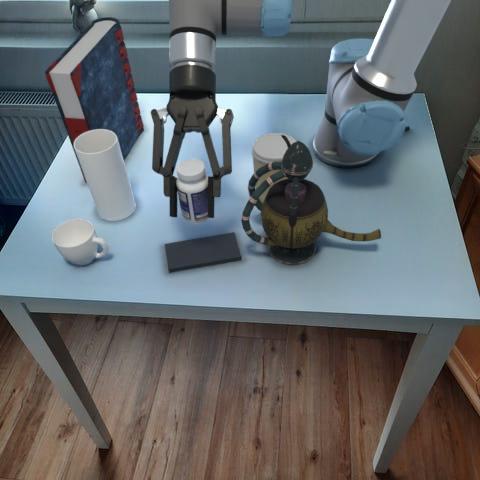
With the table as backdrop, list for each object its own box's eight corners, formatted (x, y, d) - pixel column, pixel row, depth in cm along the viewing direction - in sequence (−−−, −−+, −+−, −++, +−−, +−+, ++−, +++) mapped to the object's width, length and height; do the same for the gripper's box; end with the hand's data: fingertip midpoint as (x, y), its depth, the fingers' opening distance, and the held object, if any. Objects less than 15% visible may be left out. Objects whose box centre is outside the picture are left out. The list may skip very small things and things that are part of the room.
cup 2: (74, 241, 95) (63, 216, 90) (120, 248, 94) (111, 222, 88) (57, 269, 91) (44, 244, 85) (105, 276, 89) (94, 251, 84)
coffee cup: (303, 201, 100) (307, 151, 90) (263, 214, 98) (262, 164, 88) (285, 177, 105) (286, 127, 95) (246, 188, 103) (244, 138, 94)
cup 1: (141, 198, 103) (124, 131, 90) (126, 223, 98) (105, 156, 85) (107, 193, 104) (85, 126, 91) (91, 217, 99) (65, 150, 87)
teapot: (250, 224, 96) (246, 117, 77) (375, 232, 93) (402, 122, 75) (242, 267, 89) (236, 161, 70) (377, 277, 86) (408, 168, 67)
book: (123, 123, 121) (95, 15, 102) (148, 125, 120) (125, 16, 100) (83, 183, 107) (41, 71, 87) (111, 186, 106) (75, 74, 86)
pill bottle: (215, 204, 86) (210, 156, 78) (210, 225, 83) (205, 178, 75) (185, 202, 87) (177, 155, 79) (178, 223, 84) (170, 176, 76)
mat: (234, 235, 94) (234, 231, 94) (241, 260, 90) (241, 256, 89) (165, 247, 93) (164, 243, 92) (169, 272, 89) (168, 269, 88)
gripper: (251, 79, 79) (248, 219, 83) (142, 80, 81) (144, 217, 84) (249, 61, 72) (246, 216, 75) (129, 62, 73) (131, 214, 77)
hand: (192, 216), depth 80 cm, fingers closed on pill bottle, 6 cm apart
